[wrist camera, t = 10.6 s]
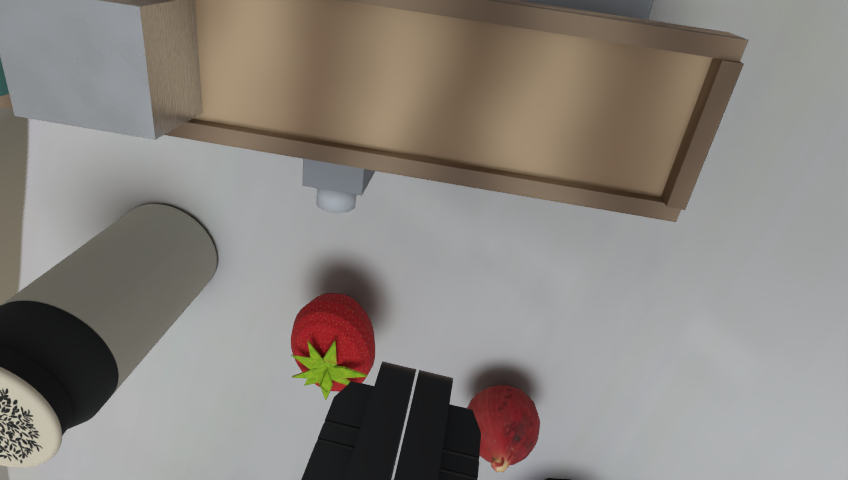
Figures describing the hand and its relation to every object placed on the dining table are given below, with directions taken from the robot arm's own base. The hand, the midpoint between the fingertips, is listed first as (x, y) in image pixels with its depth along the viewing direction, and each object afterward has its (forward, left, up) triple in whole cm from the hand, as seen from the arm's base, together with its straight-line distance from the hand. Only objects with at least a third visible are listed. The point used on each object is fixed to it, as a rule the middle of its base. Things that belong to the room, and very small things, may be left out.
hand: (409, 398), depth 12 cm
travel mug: (+26, -4, -27) cm, 38 cm away
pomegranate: (+12, +22, -27) cm, 37 cm away
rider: (+9, -12, -16) cm, 22 cm away
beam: (+2, -6, -17) cm, 18 cm away
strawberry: (+17, +8, -27) cm, 33 cm away
